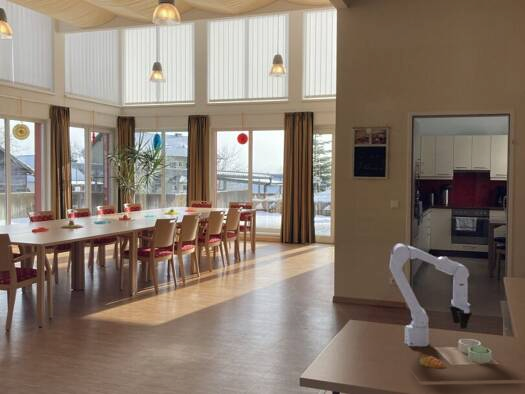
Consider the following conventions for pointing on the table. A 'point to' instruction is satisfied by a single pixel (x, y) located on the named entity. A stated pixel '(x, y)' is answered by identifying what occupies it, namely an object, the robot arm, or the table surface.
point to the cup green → (479, 356)
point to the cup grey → (467, 344)
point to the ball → (479, 349)
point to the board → (458, 356)
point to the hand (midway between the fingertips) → (459, 325)
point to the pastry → (431, 362)
